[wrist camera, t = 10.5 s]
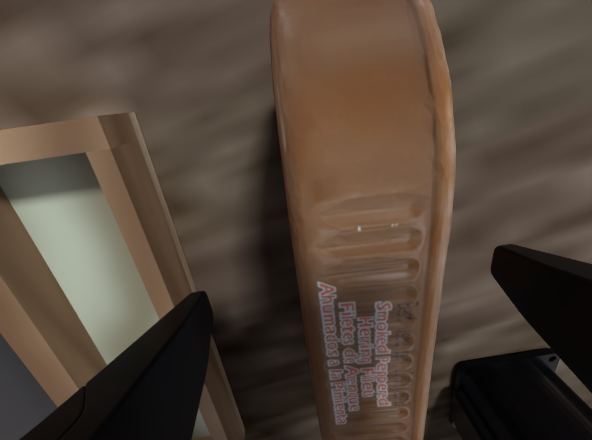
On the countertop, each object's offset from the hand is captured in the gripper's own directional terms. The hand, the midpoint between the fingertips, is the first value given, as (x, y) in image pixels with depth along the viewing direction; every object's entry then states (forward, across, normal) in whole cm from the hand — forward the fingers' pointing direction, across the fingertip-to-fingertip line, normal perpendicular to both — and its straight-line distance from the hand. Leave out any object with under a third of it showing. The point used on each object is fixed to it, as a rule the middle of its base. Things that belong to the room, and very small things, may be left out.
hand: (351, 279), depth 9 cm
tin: (+5, 0, 0) cm, 5 cm away
